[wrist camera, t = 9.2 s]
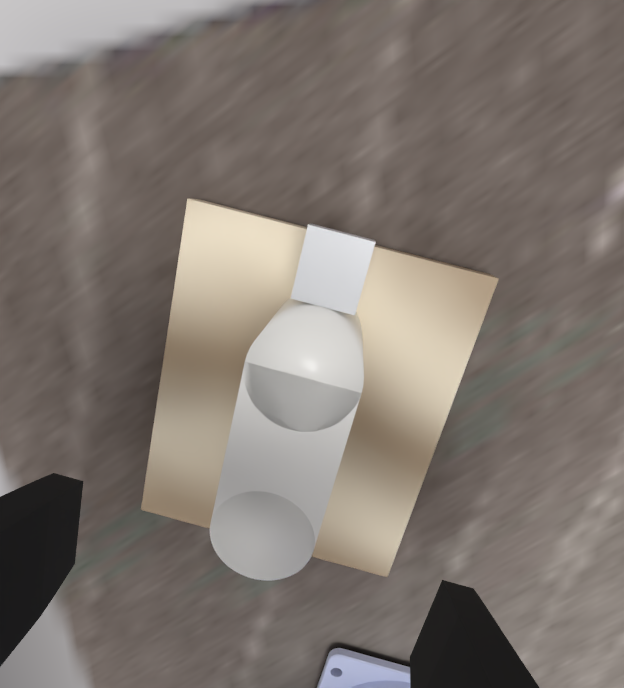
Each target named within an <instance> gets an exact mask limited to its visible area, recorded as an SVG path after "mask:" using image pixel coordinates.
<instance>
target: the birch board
mask: <svg viewBox="0 0 624 688" xmlns="http://www.w3.org/2000/svg"><path fill="white" fill-rule="evenodd" d="M306 231H307V227H304V226H301V225H297V224H293V223H289V222H285V221H281V220H277V219H273V218H270V217H266V216H262V215H258V214H254V213H250V212H246V211H242V210H238V209H235V208H231V207H227V206H223V205H219V204H215V203H211V202H207V201H203V200H200V199H187V206H186V213H185V219H184V226H183V232H182V239H181V246H180V252H179V259H178V266H177V272H176V279H175V286H174V292H173V299H172V306H171V312H170V319H169V326H168V332H167V339H166V346H165V352H164V359H163V366H162V372H161V379H160V386H159V392H158V399H157V406H156V412H155V419H154V426H153V432H152V439H151V446H150V452H149V459H148V466H147V472H146V479H145V486H144V492H143V499H142V506H141V510H144V511H147V512H151V513H155V514H158V515H162V516H166V517H169V518H173V519H177V520H180V521H184V522H188V523H191V524H195V525H198V526H202V527H206V528H209V529H210V523H211V518H212V514H213V509H214V504H215V500H216V495H217V490H218V485H219V481H220V476H221V471H222V467H223V462H224V457H225V453H226V448H227V443H228V439H229V434H230V429H231V424H232V420H233V415H234V410H235V406H236V401H237V396H238V392H239V387H240V382H241V377H242V373H243V368H244V363H245V359H246V356H247V353H248V351H249V349H250V347H251V345H252V344H253V342H254V341H255V339H256V338H257V337H258V336H259V334H260V333H261V332H262V331H263V329H264V328H265V327H266V325H267V324H268V323H269V322H270V320H271V319H272V318H273V317H274V315H275V314H276V313H277V311H278V310H279V309H280V308H281V306H282V305H283V304H284V303H285V302H286V301H287V300H288V299H290V298H291V295H292V290H293V286H294V282H295V278H296V273H297V269H298V265H299V261H300V256H301V252H302V248H303V244H304V239H305V235H306ZM498 279H499V278H496V277H494V276H492V275H490V274H487V273H483V272H479V271H475V270H472V269H468V268H464V267H460V266H456V265H452V264H448V263H444V262H440V261H437V260H433V259H429V258H425V257H421V256H417V255H413V254H409V253H406V252H402V251H398V250H394V249H390V248H386V247H382V246H378V245H375V246H374V250H373V253H372V257H371V260H370V264H369V267H368V271H367V274H366V278H365V281H364V285H363V288H362V292H361V295H360V299H359V302H358V306H357V310H356V312H357V314H358V316H359V319H360V322H361V326H362V337H363V365H364V384H363V389H362V393H361V397H360V400H359V403H358V407H357V410H356V413H355V416H354V420H353V423H352V426H351V429H350V433H349V436H348V439H347V443H346V446H345V449H344V452H343V456H342V459H341V462H340V466H339V469H338V472H337V475H336V479H335V482H334V485H333V488H332V492H331V495H330V498H329V502H328V505H327V508H326V511H325V515H324V518H323V521H322V524H321V528H320V531H319V534H318V538H317V541H316V544H315V547H314V551H313V553H312V557H315V558H319V559H322V560H326V561H330V562H333V563H337V564H341V565H344V566H348V567H352V568H355V569H359V570H363V571H366V572H370V573H373V574H377V575H381V576H384V577H388V574H389V572H390V569H391V566H392V564H393V561H394V558H395V556H396V553H397V550H398V548H399V545H400V542H401V539H402V537H403V534H404V531H405V529H406V526H407V523H408V521H409V518H410V515H411V513H412V510H413V507H414V505H415V502H416V499H417V497H418V494H419V491H420V489H421V486H422V483H423V480H424V478H425V475H426V472H427V470H428V467H429V464H430V462H431V459H432V456H433V454H434V451H435V448H436V446H437V443H438V440H439V438H440V435H441V432H442V430H443V427H444V424H445V422H446V419H447V416H448V413H449V411H450V408H451V405H452V403H453V400H454V397H455V395H456V392H457V389H458V387H459V384H460V381H461V379H462V376H463V373H464V371H465V368H466V365H467V363H468V360H469V357H470V355H471V352H472V349H473V346H474V344H475V341H476V338H477V336H478V333H479V330H480V328H481V325H482V322H483V320H484V317H485V314H486V312H487V309H488V306H489V304H490V301H491V298H492V296H493V293H494V290H495V287H496V285H497V282H498Z"/></svg>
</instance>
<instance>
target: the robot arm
mask: <svg viewBox="0 0 624 688" xmlns="http://www.w3.org/2000/svg"><path fill="white" fill-rule="evenodd" d="M82 488H83V481H80V480H77V479H73V478H69V477H66V476H62V475H58V474H55V473H53V474H50V475H48V476H46V477H43V478H41V479H39V480H36V481H34V482H32V483H30V484H27V485H25V486H23V487H21V488H19V489H16V490H14V491H12V492H10V493H8V494H5V495H3V496H1V497H0V666H1V664H3V662H4V661H5V660H6V659H7V657H8V656H9V655H10V654H11V652H12V651H13V650H14V649H15V647H16V646H17V645H18V644H19V643H20V641H21V640H22V639H23V638H24V636H25V635H26V634H27V633H28V631H29V630H30V629H31V628H32V626H33V625H34V624H35V622H36V621H37V620H38V619H39V617H40V616H41V614H42V613H43V612H44V610H45V609H46V607H47V606H48V604H49V603H50V601H51V600H52V598H53V597H54V595H55V594H56V592H57V591H58V589H59V588H60V586H61V584H62V583H63V581H64V580H65V578H66V576H67V575H68V573H69V572H70V570H71V569H72V567H73V565H74V564H75V556H76V546H77V536H78V527H79V517H80V507H81V497H82ZM317 688H539V686H538V685H537V683H536V682H535V680H534V679H533V677H532V676H531V674H530V673H529V671H528V670H527V669H526V667H525V666H524V664H523V663H522V661H521V659H520V658H519V656H518V655H517V653H516V652H515V650H514V649H513V647H512V646H511V644H510V643H509V641H508V640H507V638H506V637H505V635H504V634H503V632H502V631H501V629H500V628H499V626H498V624H497V623H496V621H495V620H494V618H493V617H492V615H491V614H490V612H489V611H488V609H487V608H486V606H485V605H484V603H483V602H482V600H481V599H480V597H479V596H478V594H477V593H476V591H475V590H474V589H473V588H469V587H466V586H462V585H458V584H455V583H451V582H447V581H444V580H442V582H441V585H440V587H439V589H438V592H437V594H436V597H435V599H434V601H433V604H432V606H431V608H430V611H429V613H428V616H427V618H426V620H425V623H424V625H423V627H422V630H421V632H420V635H419V637H418V639H417V642H416V644H415V647H414V649H413V651H412V654H411V656H410V667H407V666H404V665H400V664H397V663H393V662H389V661H386V660H382V659H379V658H375V657H372V656H368V655H364V654H361V653H357V652H354V651H350V650H346V649H343V648H335V649H333V650H331V651H330V652H329V654H328V657H327V660H326V663H325V666H324V669H323V672H322V675H321V677H320V680H319V683H318V686H317Z"/></svg>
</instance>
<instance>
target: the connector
mask: <svg viewBox="0 0 624 688" xmlns="http://www.w3.org/2000/svg"><path fill="white" fill-rule="evenodd" d="M375 243H376V242H375V240H373V239H369V238H365V237H362V236H358V235H354V234H350V233H346V232H342V231H339V230H335V229H331V228H327V227H323V226H319V225H315V224H312V223H311V224H308V227H307V231H306V235H305V239H304V244H303V248H302V252H301V256H300V261H299V265H298V269H297V273H296V278H295V282H294V286H293V290H292V295H291V298H290V299H288V300H287V301H286V302H285V303H284V304H283V305H282V306H281V308H280V309H279V310H278V311H277V313H276V314H275V315H274V317H273V318H272V319H271V320H270V322H269V323H268V324H267V325H266V327H265V328H264V329H263V331H262V332H261V333H260V334H259V336H258V337H257V338H256V339H255V341H254V342H253V344H252V345H251V347H250V349H249V351H248V353H247V356H246V359H245V363H244V368H243V373H242V377H241V382H240V387H239V392H238V396H237V401H236V406H235V410H234V415H233V420H232V424H231V429H230V434H229V439H228V443H227V448H226V453H225V457H224V462H223V467H222V471H221V476H220V481H219V485H218V490H217V495H216V500H215V504H214V509H213V514H212V518H211V523H210V538H211V542H212V545H213V548H214V550H215V552H216V553H217V555H218V556H219V558H220V559H221V560H222V561H223V562H224V563H225V564H226V565H227V566H228V567H230V568H231V569H232V570H234V571H236V572H237V573H239V574H241V575H244V576H246V577H249V578H252V579H257V580H279V579H284V578H286V577H289V576H291V575H293V574H295V573H297V572H298V571H300V570H301V569H302V568H303V567H304V566H305V565H306V564H307V563H308V561H309V560H310V558H311V556H312V553H313V551H314V547H315V544H316V541H317V538H318V534H319V531H320V528H321V524H322V521H323V518H324V515H325V511H326V508H327V505H328V502H329V498H330V495H331V492H332V488H333V485H334V482H335V479H336V475H337V472H338V469H339V466H340V462H341V459H342V456H343V452H344V449H345V446H346V443H347V439H348V436H349V433H350V429H351V426H352V423H353V420H354V416H355V413H356V410H357V407H358V403H359V400H360V397H361V393H362V389H363V384H364V365H363V337H362V326H361V322H360V319H359V316H358V314H357V312H356V310H357V306H358V302H359V299H360V295H361V292H362V288H363V285H364V281H365V278H366V274H367V271H368V267H369V264H370V260H371V257H372V253H373V250H374V246H375Z"/></svg>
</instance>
